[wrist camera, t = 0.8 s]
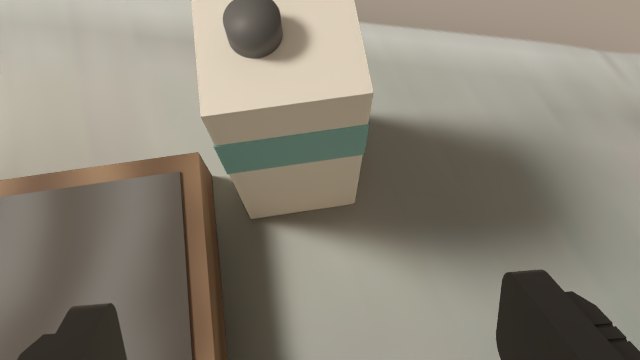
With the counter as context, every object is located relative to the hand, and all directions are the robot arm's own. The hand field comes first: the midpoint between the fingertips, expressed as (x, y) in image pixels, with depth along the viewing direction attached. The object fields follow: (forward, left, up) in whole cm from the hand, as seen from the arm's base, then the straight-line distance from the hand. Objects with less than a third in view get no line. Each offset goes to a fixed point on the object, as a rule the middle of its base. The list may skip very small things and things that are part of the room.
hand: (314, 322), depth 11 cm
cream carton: (0, -11, -18) cm, 21 cm away
